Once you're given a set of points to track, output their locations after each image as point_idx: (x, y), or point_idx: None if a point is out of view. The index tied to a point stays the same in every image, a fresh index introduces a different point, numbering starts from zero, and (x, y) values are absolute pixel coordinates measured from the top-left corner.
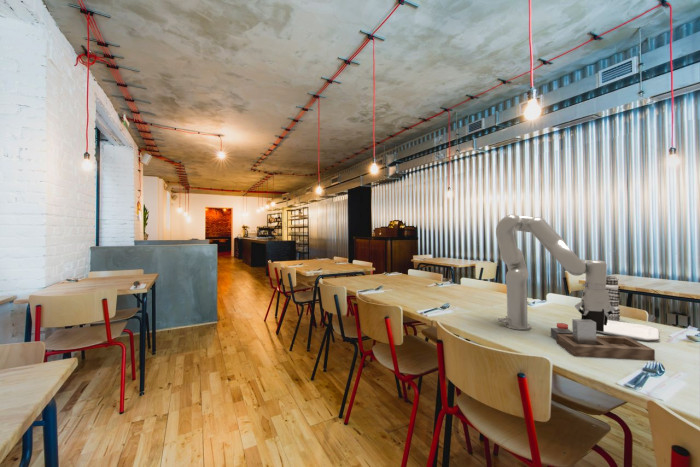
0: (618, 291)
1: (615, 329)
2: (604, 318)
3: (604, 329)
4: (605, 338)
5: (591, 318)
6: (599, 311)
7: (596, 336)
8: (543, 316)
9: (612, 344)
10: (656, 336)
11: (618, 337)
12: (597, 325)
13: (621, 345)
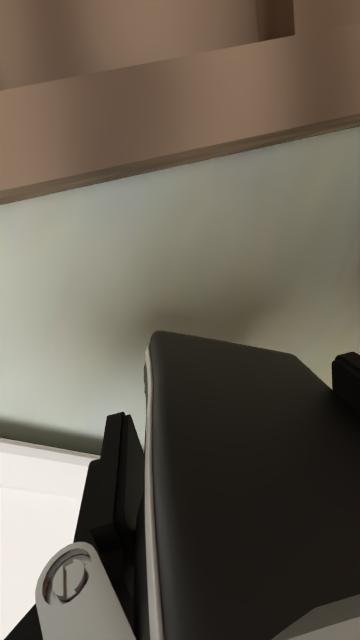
0: None
1: (2, 564)
2: (148, 456)
3: None
4: (208, 57)
5: (329, 430)
6: (333, 610)
7: (300, 76)
8: None
9: (135, 60)
10: None
11: (43, 123)
12: (221, 364)
13: (48, 48)
